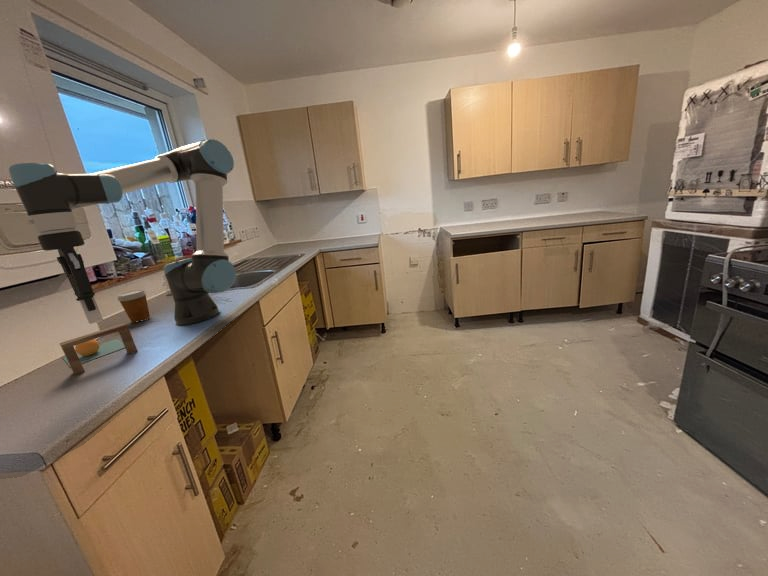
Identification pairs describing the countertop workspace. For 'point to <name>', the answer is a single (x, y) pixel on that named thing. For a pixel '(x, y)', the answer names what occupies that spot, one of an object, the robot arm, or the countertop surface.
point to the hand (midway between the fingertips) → (96, 321)
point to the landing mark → (102, 351)
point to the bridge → (69, 344)
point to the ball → (87, 348)
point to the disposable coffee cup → (135, 305)
